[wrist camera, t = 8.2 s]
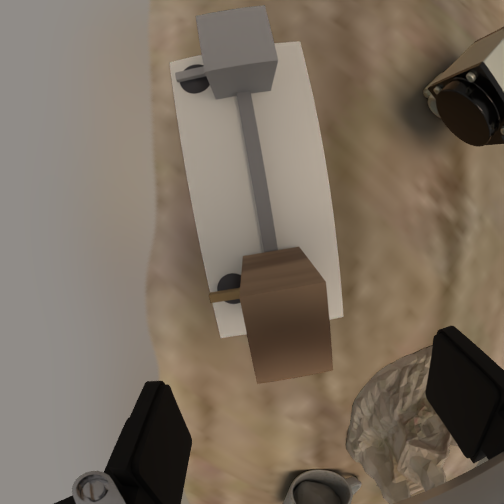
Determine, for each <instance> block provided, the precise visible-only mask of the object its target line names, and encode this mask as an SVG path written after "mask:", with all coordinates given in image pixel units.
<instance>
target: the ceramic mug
mask: <svg viewBox="0 0 504 504" xmlns="http://www.w3.org/2000/svg"><path fill="white" fill-rule="evenodd" d="M360 487H361V482H360V481H359V480H358V479H357V478H356V477H349V478H346V479H345V478H343V477H342V476H341V475H339V474H337V473H335V472H332V471H328V470H321V469H317V470H310V471H306V472H304V473H302V474H300V475H299V476H298V477H296V478H295V480H294V481H293V482H292V484H291V486H290V488H289V490H288V493H287V495H286V497H285V500H284V502H283V504H351V500H352V497H353V494H355V493H356V491H358V489H359V488H360Z"/></svg>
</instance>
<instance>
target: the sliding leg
mask: <svg viewBox="0 0 504 504" xmlns="http://www.w3.org/2000/svg"><path fill="white" fill-rule="evenodd" d="M209 298H210V302H211V303H215V302H222V301H228V300H235V299H240V303H241V308H242V313H243V318H244V323H245V327H246V332H247V337H248V342H249V347H250V352H251V357H252V361H253V366H254V371H255V376H256V380H257V384H260V383H267V382H273V381H279V380H285V379H291V378H297V377H302V376H307V375H313V374H318V373H322V372H327V371H332V370H333V364H332V348H331V334H330V321H329V309H328V298H327V288H326V281H325V280H324V279H323V277H322V276H321V275H320V273H319V272H318V271H317V269H316V268H315V267H314V265H313V264H312V263H311V261H310V260H309V259H308V258H307V256H306V255H305V254H304V252H303V251H302V250H301V248H300V247H293V248H288V249H282V250H276V251H270V252H264V253H258V254H252V255H246V256H243V260H242V271H241V283H240V288H235V289H229V290H223V291H216V292H210V294H209Z"/></svg>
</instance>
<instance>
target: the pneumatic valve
mask: <svg viewBox="0 0 504 504" xmlns="http://www.w3.org/2000/svg"><path fill="white" fill-rule="evenodd" d="M423 92H424V93H423V95H424V96H425V97H426V98H429V99H428V106H429V108H430V110H431V111H432V112H433V113H434V114H435V115H436V116H437V117H439V118H441V119H442V120H443V122H444V123H445V125H446V126H447V127H448V128H449V130H450V131H451V132H452V133H453V134H454V135H456V136H457V137H458V138H459V139H461V140H462V141H464V142H466V143H468V144H470V145H473V146H484V145H493V144H504V27H502V28H500V29H499V30H497V31H495V32H493V33H491V34H489V35H487V36H485V37H483V38H481V39H479V40H477V41H475V42H474V43H473V44H472V45H471V46H470V47H469V48H468V49H467V50H466V51H465V52H464V53H463V54H462V55H461V56H460V57H459V58H458V59H457V60H456V61H455V62H454V63H453V64H452V65H451V66H450V67H449V68H448V69H447V70H446V71H445V72H444V73H443V72H442V73H440V74H439V75H438V76H437V77H436V78H435V79H434V80H433V81H432V82H431V83H430V84H429V85H428V86H427V87H426V88H425V89H424V90H423Z"/></svg>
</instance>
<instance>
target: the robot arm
mask: <svg viewBox="0 0 504 504" xmlns="http://www.w3.org/2000/svg"><path fill="white" fill-rule="evenodd" d="M425 394H426V398H427V400H428V402H429V403H430V405H431V406H432V407H433V409H434V410H435V412H436V413H437V415H438V416H439V418H440V419H441V421H442V422H443V424H444V425H445V427H446V428H447V430H448V431H449V433H450V434H451V436H452V437H453V439H454V440H455V442H456V443H457V445H458V446H459V448H460V449H461V451H462V452H463V454H464V456H465V457H466V458H470V459H471V460H472V462H473V463H475V462H477V461H479V460H481V459H483V458H484V457H485V456H486V457H487V458H488V459H489V460H488V461H487V462H485V463H483V464H481V465H480V466H477V467H475V468H474V469H472V470H470V471H468V472H466V473H464V474H462V475H460V476H458V477H456V478H454V479H452V480H450V481H448V482H446V483H443V484H441V485H439V486H437V487H434V488H432V489H430V490H427V491H425V492H422V493H420V494H417V495H415V496H412V497H409V498H407V499H404V500H401V501H398V502H396V503H393V504H504V370H503V369H502V368H501V367H499V366H498V365H497V364H496V363H495V362H494V361H493V360H492V359H491V358H490V357H489V356H487V355H486V354H485V353H484V352H483V351H482V350H481V349H480V348H478V347H477V346H476V345H475V344H474V343H473V342H472V341H470V340H469V339H468V338H467V337H466V336H465V335H464V334H462V333H461V332H460V331H459V330H458V329H457V328H455V327H454V326H449V327H446V328H443V329H440V330H438V332H437V335H435V336H434V339H433V347H432V354H431V361H430V368H429V374H428V380H427V385H426V390H425ZM191 446H192V438H191V435H190V433H189V430H188V428H187V426H186V424H185V421H184V419H183V417H182V414H181V412H180V410H179V407H178V405H177V403H176V400H175V398H174V395H173V393H172V390H171V388H170V386H169V385H165V383H164V382H163V381H150V382H149V381H148V382H146V383H145V385H144V387H143V389H142V391H141V394H140V396H139V398H138V400H137V402H136V405H135V407H134V409H133V412H132V413H131V416H130V418H128V419H127V421H126V423H125V425H124V427H123V429H122V431H121V434H120V436H119V438H118V441H117V443H116V445H115V447H114V450H113V452H112V454H111V457H110V459H109V461H108V464H107V466H106V468H105V471H104V472H100V471H91V472H87V473H85V474H83V475H81V476H80V477H78V478H77V479H76V481H75V482H74V484H73V487H72V493H73V496H70V497H68V498H66V499H64V500H61V501H59V502H57V503H54V504H181V499H182V494H183V488H184V483H185V477H186V472H187V467H188V462H189V456H190V451H191Z"/></svg>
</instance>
